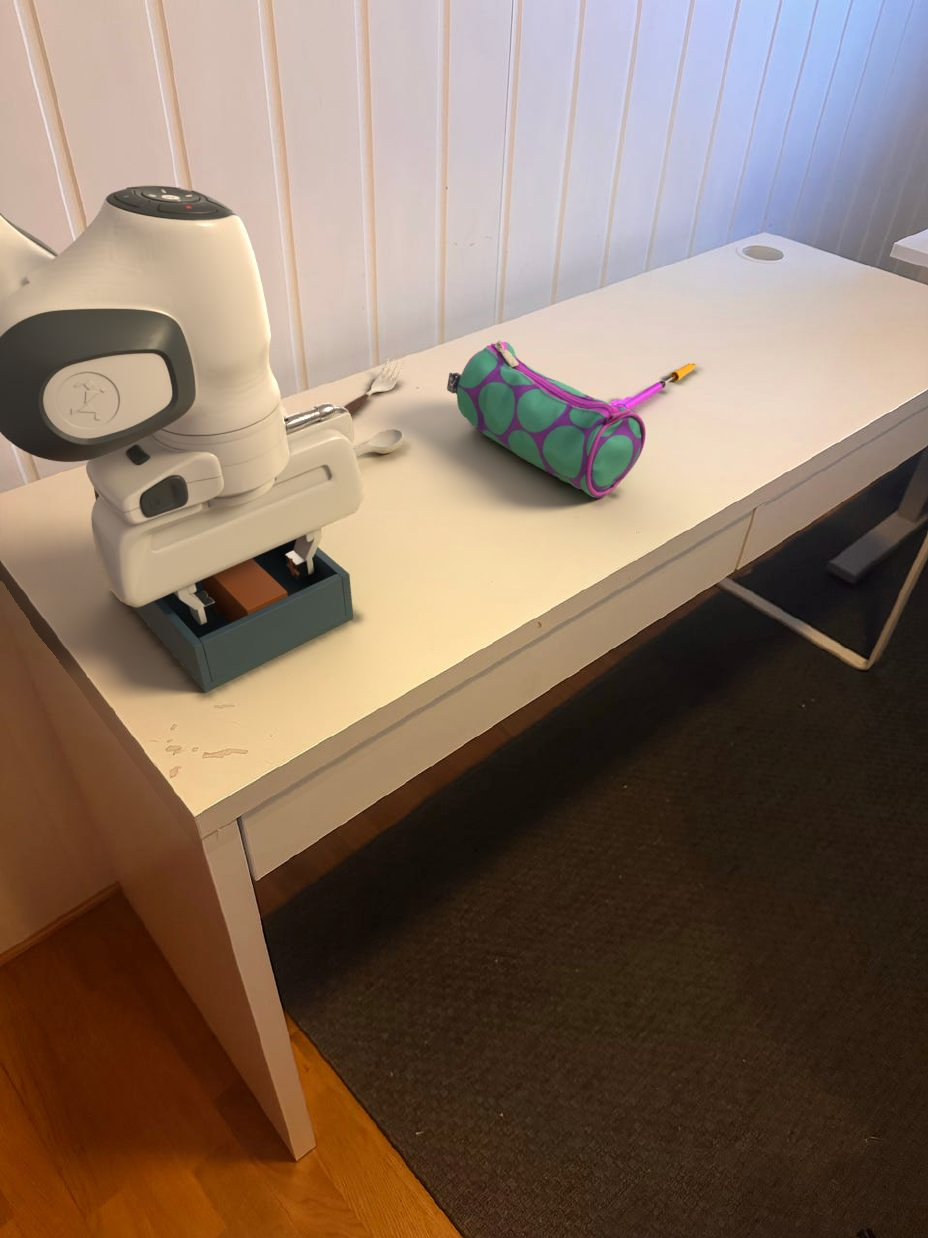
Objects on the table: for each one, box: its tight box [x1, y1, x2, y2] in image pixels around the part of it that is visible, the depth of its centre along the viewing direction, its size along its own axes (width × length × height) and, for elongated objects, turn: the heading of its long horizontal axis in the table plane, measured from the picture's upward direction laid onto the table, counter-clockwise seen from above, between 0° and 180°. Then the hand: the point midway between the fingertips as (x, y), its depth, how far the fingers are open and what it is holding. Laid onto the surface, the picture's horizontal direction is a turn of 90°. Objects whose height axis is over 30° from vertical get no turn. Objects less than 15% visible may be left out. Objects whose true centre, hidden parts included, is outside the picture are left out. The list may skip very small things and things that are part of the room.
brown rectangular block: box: [202, 558, 288, 623], centre depth 71 cm, size 8×4×4 cm, turn 40°
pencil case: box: [446, 340, 647, 499], centre depth 90 cm, size 21×9×10 cm, turn 39°
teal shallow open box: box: [132, 539, 354, 693], centre depth 73 cm, size 15×13×5 cm
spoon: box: [353, 428, 405, 459], centre depth 91 cm, size 3×12×2 cm, turn 135°
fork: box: [343, 357, 406, 415], centre depth 100 cm, size 3×16×2 cm, turn 153°
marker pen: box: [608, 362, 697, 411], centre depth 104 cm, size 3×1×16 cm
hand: (254, 594), depth 71 cm, fingers open, 7 cm apart
